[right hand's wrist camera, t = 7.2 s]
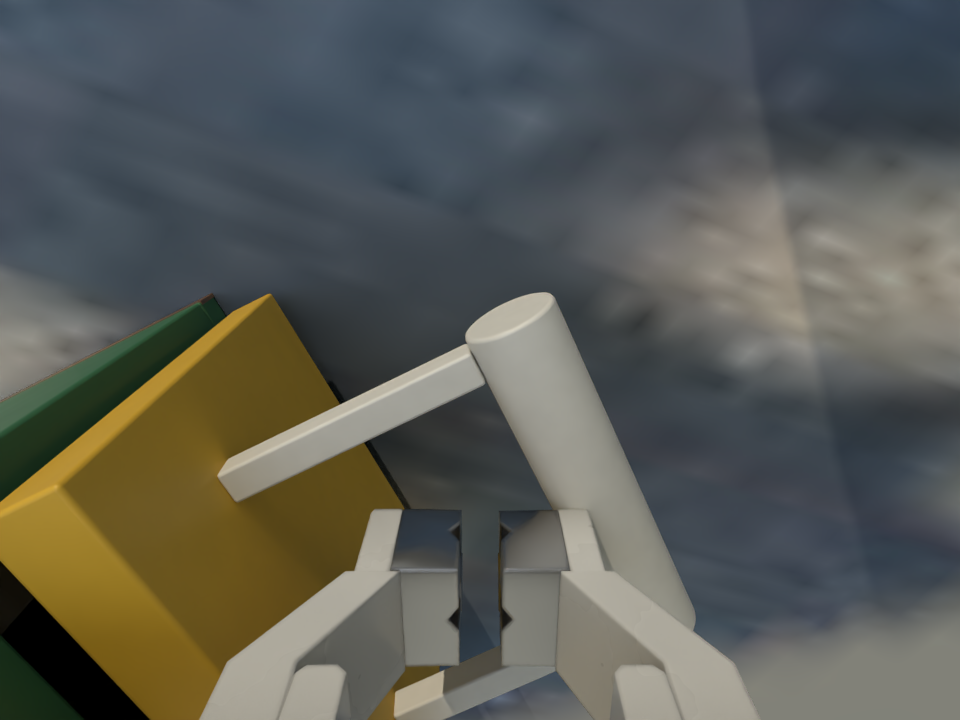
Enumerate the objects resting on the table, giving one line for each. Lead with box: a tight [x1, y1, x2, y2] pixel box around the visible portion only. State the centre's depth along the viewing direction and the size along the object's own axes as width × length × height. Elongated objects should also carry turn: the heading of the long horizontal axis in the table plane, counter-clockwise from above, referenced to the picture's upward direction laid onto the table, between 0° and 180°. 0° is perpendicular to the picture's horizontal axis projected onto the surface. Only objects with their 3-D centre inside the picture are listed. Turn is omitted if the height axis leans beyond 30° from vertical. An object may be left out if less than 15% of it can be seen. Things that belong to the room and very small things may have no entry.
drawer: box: [0, 292, 695, 720], centre depth 13 cm, size 20×10×10 cm, turn 116°
